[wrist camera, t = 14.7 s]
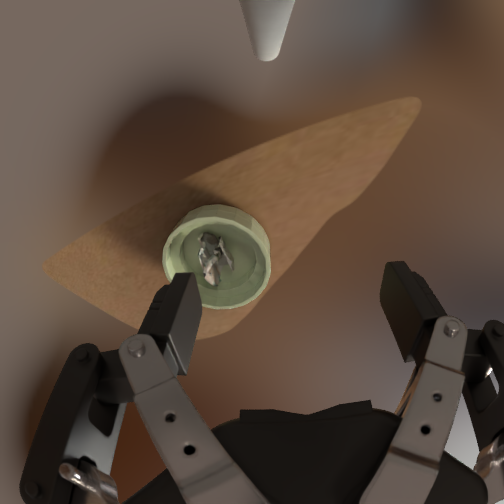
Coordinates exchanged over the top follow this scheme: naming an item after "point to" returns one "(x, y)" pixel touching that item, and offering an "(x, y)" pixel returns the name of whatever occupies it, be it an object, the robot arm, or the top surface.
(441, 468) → the robot arm
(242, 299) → the bowl
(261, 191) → the top surface
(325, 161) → the top surface
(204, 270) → the crumpled paper
